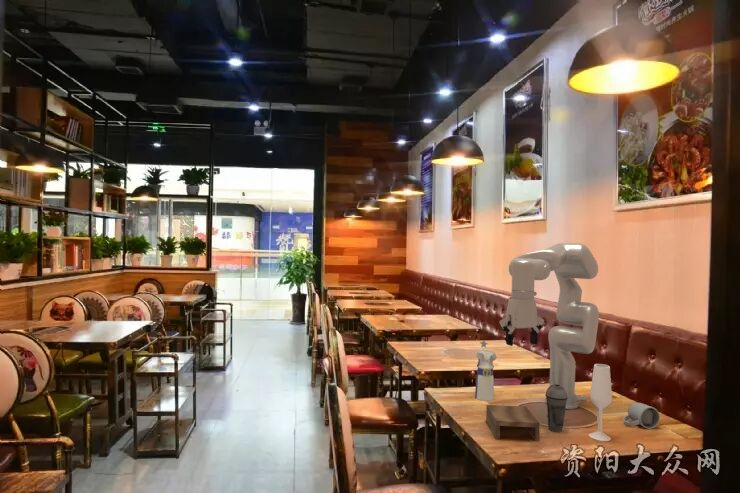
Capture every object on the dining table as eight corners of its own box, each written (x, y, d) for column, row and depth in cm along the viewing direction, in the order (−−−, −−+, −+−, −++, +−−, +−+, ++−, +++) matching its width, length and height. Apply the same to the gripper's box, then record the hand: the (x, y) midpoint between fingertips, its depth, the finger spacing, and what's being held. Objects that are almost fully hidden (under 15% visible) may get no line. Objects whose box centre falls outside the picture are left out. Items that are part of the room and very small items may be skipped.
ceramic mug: (643, 420, 178) (644, 399, 178) (660, 428, 170) (660, 407, 170) (617, 421, 176) (618, 400, 176) (633, 430, 168) (633, 408, 168)
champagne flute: (584, 434, 162) (586, 364, 162) (598, 431, 165) (600, 362, 165) (600, 442, 156) (603, 368, 156) (615, 439, 159) (617, 367, 159)
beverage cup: (568, 434, 162) (570, 375, 162) (546, 432, 163) (547, 374, 163) (564, 426, 169) (566, 370, 169) (542, 424, 170) (544, 368, 170)
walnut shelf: (525, 423, 171) (525, 406, 171) (539, 441, 155) (539, 422, 155) (486, 421, 172) (486, 404, 172) (495, 439, 156) (496, 420, 156)
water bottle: (497, 401, 195) (499, 340, 195) (476, 401, 195) (478, 339, 195) (492, 395, 203) (494, 336, 203) (472, 394, 203) (474, 336, 203)
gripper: (537, 293, 172) (536, 341, 172) (494, 294, 167) (493, 343, 167) (550, 296, 165) (549, 345, 165) (507, 297, 160) (505, 348, 160)
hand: (521, 344), depth 166 cm, fingers open, 9 cm apart
